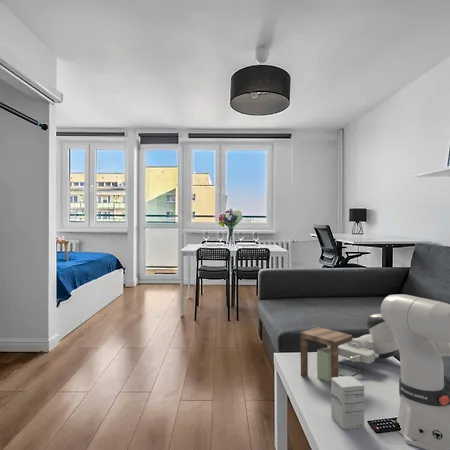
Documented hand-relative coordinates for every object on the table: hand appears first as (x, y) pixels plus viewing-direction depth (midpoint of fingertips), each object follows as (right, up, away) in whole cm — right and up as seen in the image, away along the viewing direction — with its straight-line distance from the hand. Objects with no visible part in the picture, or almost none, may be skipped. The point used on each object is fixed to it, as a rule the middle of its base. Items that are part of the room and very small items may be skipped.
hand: (340, 356), depth 148 cm
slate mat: (0, -6, 0) cm, 6 cm away
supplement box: (-11, -6, -40) cm, 41 cm away
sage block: (-8, -6, -7) cm, 12 cm away
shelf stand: (-8, -6, -7) cm, 12 cm away
